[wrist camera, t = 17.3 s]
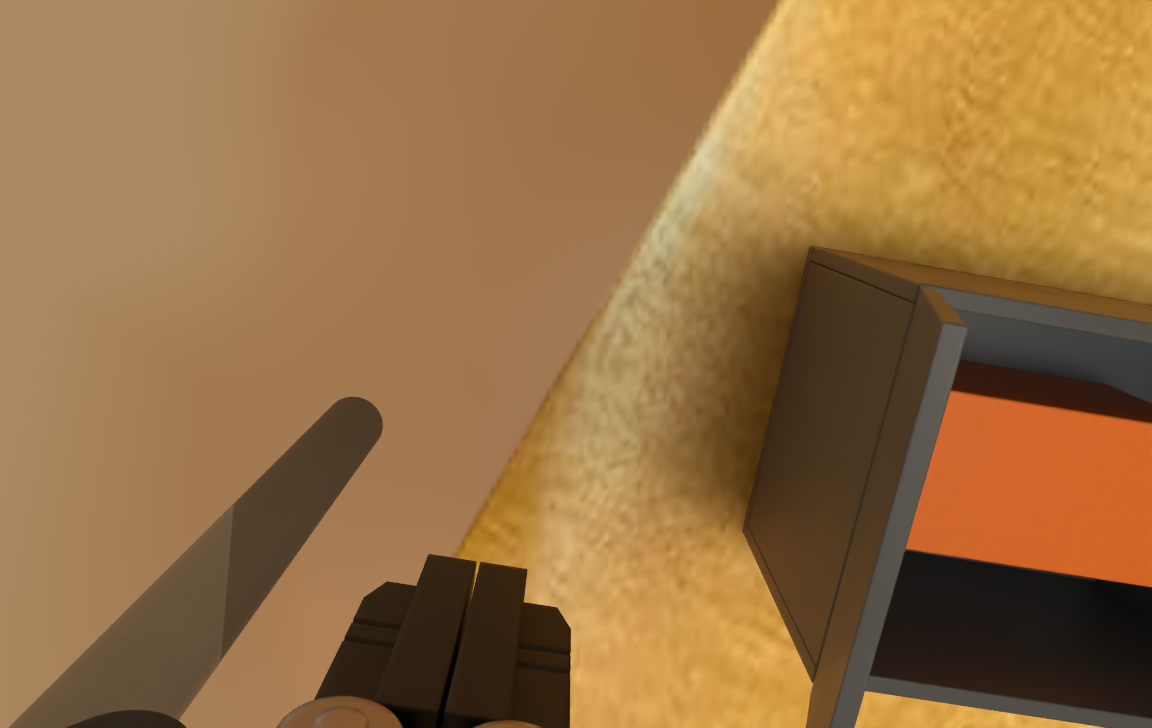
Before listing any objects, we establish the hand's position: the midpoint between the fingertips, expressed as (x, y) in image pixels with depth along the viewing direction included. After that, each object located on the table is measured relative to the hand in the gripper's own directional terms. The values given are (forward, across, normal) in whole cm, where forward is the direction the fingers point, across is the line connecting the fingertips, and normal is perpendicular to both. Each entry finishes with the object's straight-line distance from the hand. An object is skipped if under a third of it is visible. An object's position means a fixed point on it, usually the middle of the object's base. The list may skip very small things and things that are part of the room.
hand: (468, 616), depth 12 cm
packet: (+18, -16, 0) cm, 24 cm away
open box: (+18, -16, 0) cm, 24 cm away
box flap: (+5, -8, 0) cm, 9 cm away
